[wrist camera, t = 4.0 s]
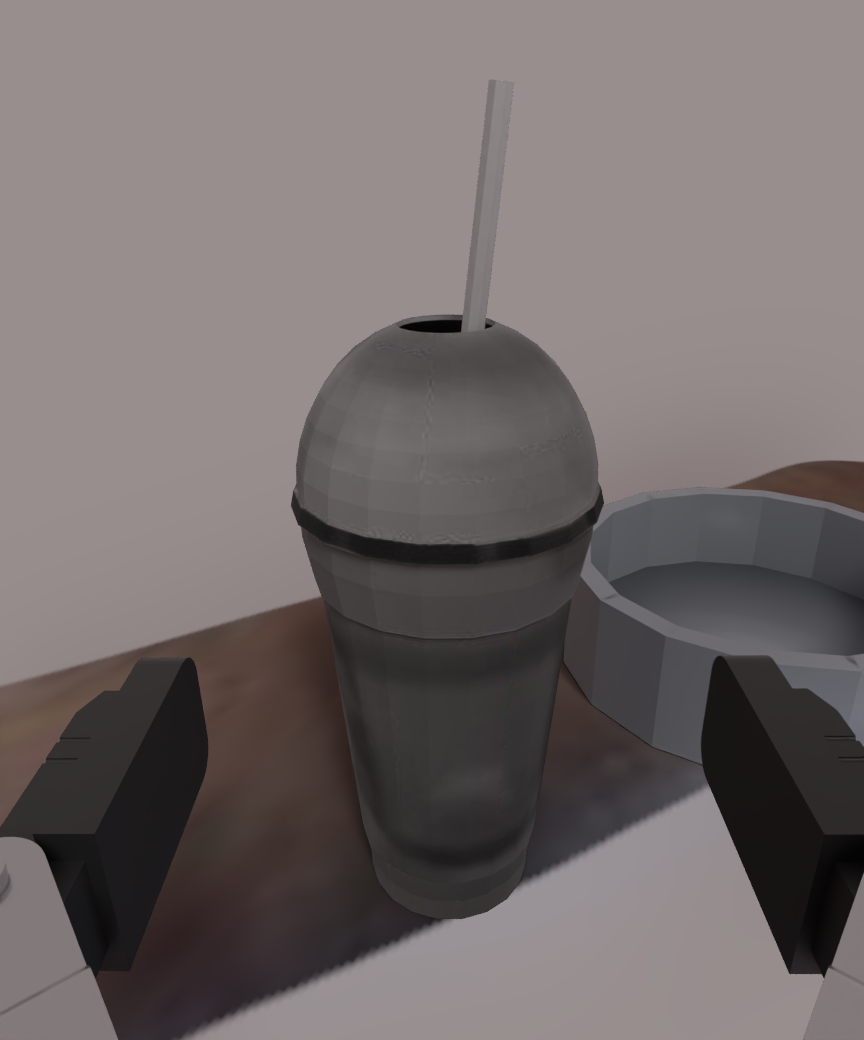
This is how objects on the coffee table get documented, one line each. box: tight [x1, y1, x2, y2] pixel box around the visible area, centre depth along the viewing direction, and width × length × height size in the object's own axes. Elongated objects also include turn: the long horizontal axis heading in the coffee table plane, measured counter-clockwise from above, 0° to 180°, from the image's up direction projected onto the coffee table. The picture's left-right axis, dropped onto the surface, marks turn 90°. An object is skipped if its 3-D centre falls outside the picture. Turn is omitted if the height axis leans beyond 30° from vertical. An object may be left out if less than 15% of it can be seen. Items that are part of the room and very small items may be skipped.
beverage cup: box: [291, 80, 604, 919], centre depth 19 cm, size 7×7×20 cm
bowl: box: [563, 487, 864, 765], centre depth 32 cm, size 15×15×4 cm
